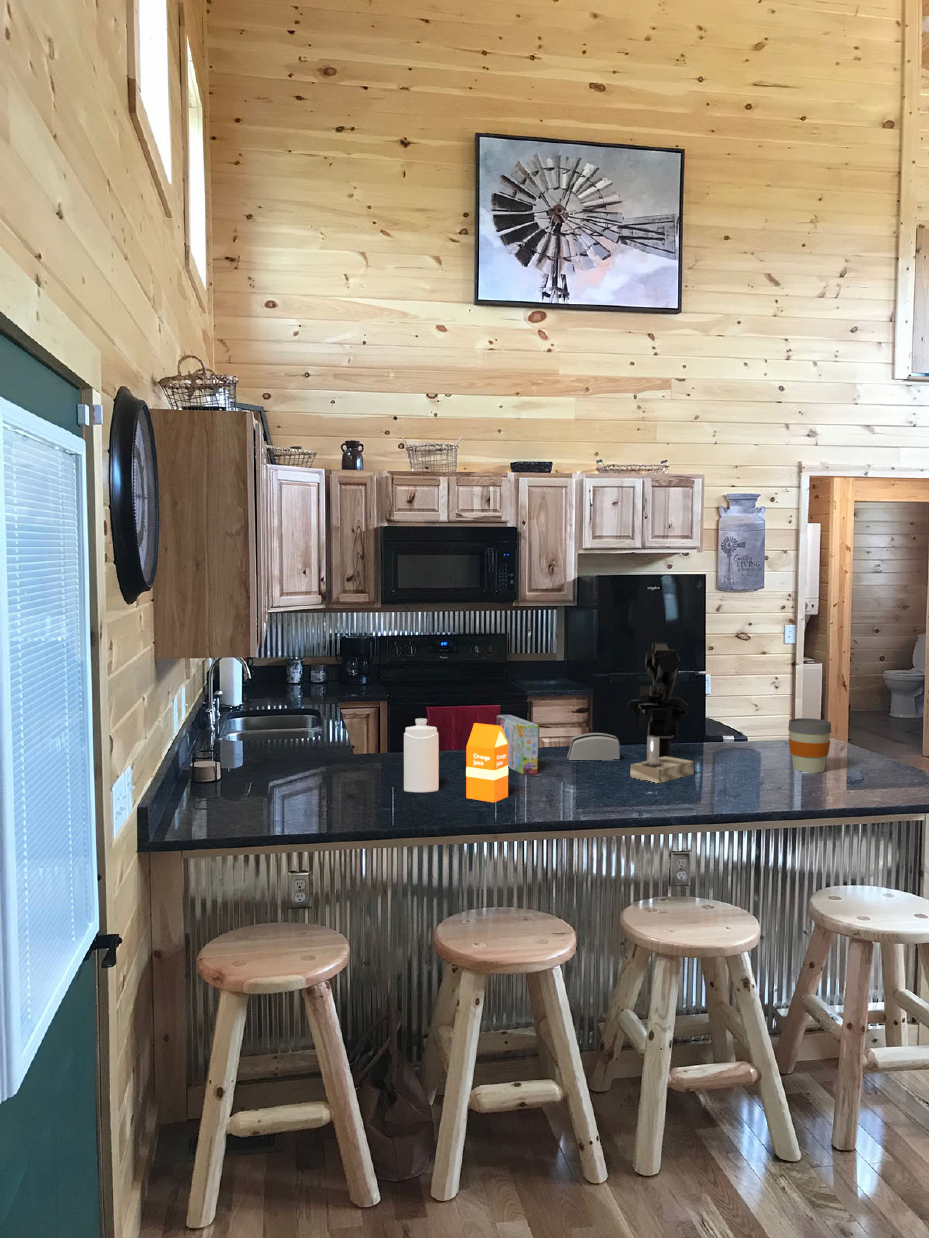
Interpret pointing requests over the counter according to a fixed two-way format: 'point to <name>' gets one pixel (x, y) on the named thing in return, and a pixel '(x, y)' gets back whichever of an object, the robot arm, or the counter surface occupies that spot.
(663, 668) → the robot arm
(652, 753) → the steel peg
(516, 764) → the snack box
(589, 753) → the napkin holder
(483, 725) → the orange juice
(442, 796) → the counter surface
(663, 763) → the birch hole board
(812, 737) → the reusable coffee cup
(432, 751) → the squeeze bottle
